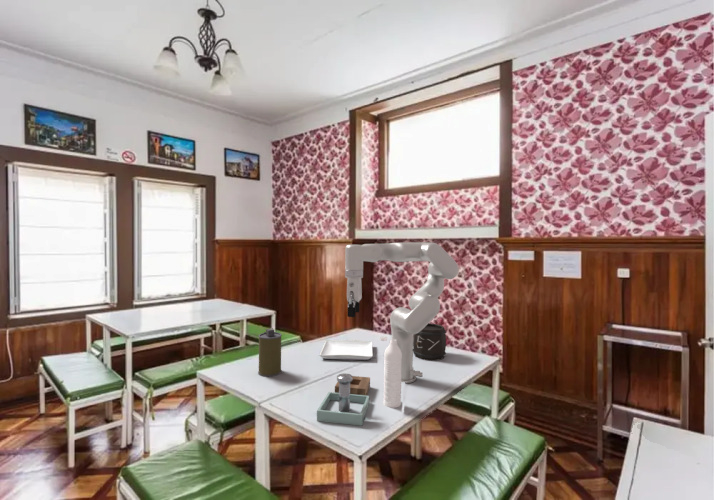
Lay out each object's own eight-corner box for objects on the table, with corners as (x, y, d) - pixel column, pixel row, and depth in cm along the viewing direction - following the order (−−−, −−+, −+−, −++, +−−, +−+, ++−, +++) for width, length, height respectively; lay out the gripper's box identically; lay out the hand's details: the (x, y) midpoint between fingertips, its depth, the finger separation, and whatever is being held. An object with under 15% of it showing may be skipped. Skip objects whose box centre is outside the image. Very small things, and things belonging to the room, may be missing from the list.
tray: (369, 405, 138) (369, 395, 138) (362, 425, 123) (362, 415, 123) (328, 401, 141) (328, 392, 141) (316, 420, 126) (316, 410, 125)
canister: (284, 373, 168) (285, 330, 167) (262, 378, 163) (262, 333, 162) (276, 366, 177) (277, 325, 177) (255, 370, 172) (255, 327, 171)
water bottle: (404, 405, 138) (405, 339, 137) (394, 411, 133) (396, 343, 132) (384, 399, 143) (385, 335, 143) (374, 405, 138) (376, 338, 137)
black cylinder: (404, 353, 201) (405, 325, 200) (428, 348, 211) (429, 321, 210) (428, 363, 186) (428, 332, 185) (452, 357, 196) (453, 328, 195)
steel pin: (353, 407, 134) (354, 374, 134) (350, 414, 129) (350, 380, 128) (338, 405, 135) (338, 373, 135) (334, 413, 130) (335, 378, 129)
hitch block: (369, 389, 152) (370, 377, 152) (365, 402, 141) (365, 389, 140) (341, 386, 154) (341, 375, 154) (334, 399, 143) (334, 386, 143)
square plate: (325, 345, 214) (325, 339, 214) (372, 347, 213) (372, 340, 213) (318, 361, 187) (318, 353, 187) (372, 363, 186) (372, 355, 186)
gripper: (359, 276, 146) (358, 319, 146) (365, 272, 163) (365, 310, 163) (340, 275, 147) (340, 318, 148) (349, 271, 164) (348, 310, 165)
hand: (353, 314), depth 156 cm, fingers open, 9 cm apart
